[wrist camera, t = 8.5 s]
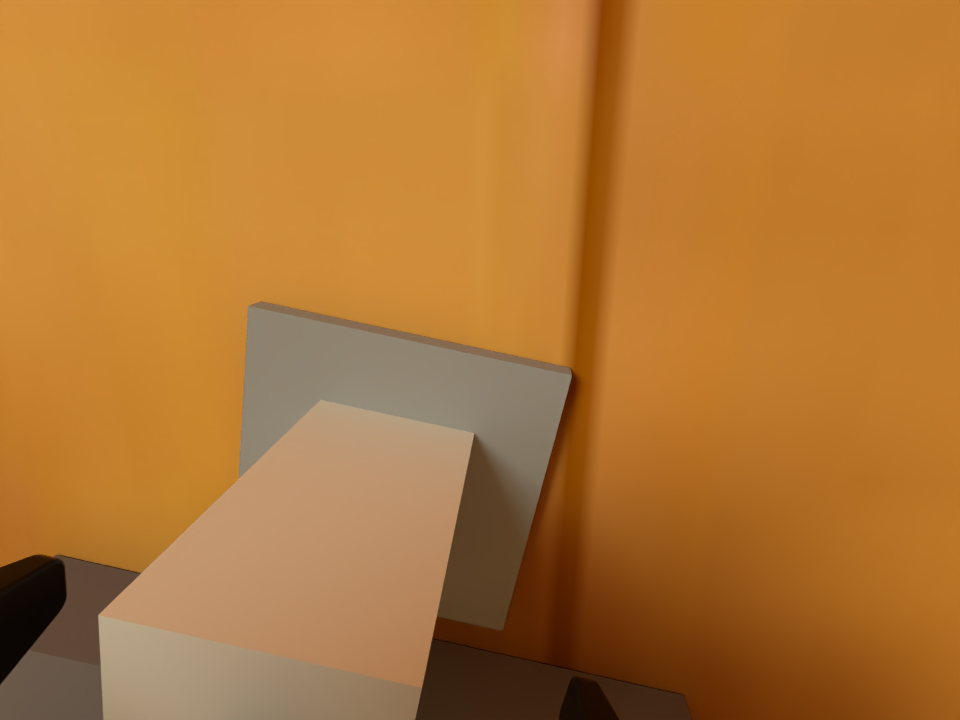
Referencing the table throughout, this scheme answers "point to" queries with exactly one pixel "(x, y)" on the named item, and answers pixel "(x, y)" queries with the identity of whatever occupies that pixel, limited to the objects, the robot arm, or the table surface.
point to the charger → (298, 582)
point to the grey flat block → (442, 705)
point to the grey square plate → (427, 398)
